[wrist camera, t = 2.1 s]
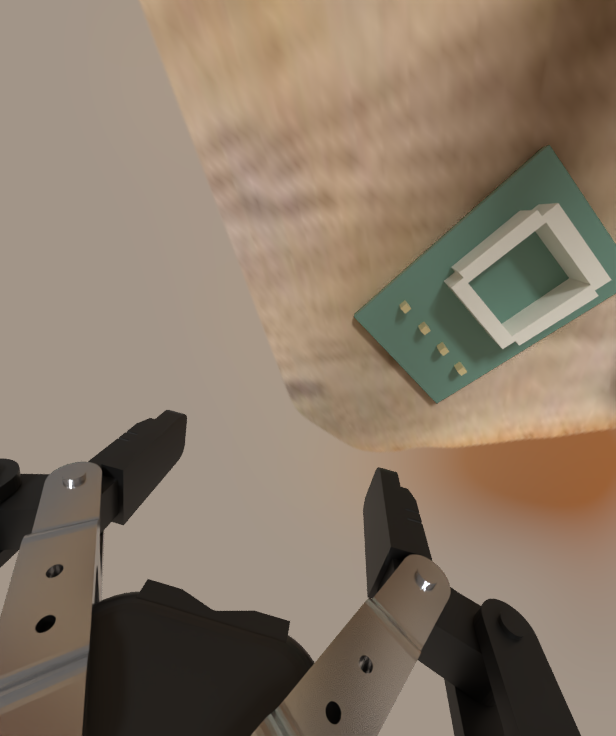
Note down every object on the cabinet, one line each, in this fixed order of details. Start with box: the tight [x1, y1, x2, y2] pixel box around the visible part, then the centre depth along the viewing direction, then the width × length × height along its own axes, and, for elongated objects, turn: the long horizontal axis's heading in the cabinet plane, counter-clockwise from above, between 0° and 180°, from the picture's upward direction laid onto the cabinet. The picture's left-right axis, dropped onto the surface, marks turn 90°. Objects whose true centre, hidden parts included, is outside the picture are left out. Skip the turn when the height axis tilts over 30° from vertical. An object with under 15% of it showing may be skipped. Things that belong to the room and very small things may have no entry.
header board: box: [354, 145, 616, 403], centre depth 28 cm, size 20×14×4 cm
